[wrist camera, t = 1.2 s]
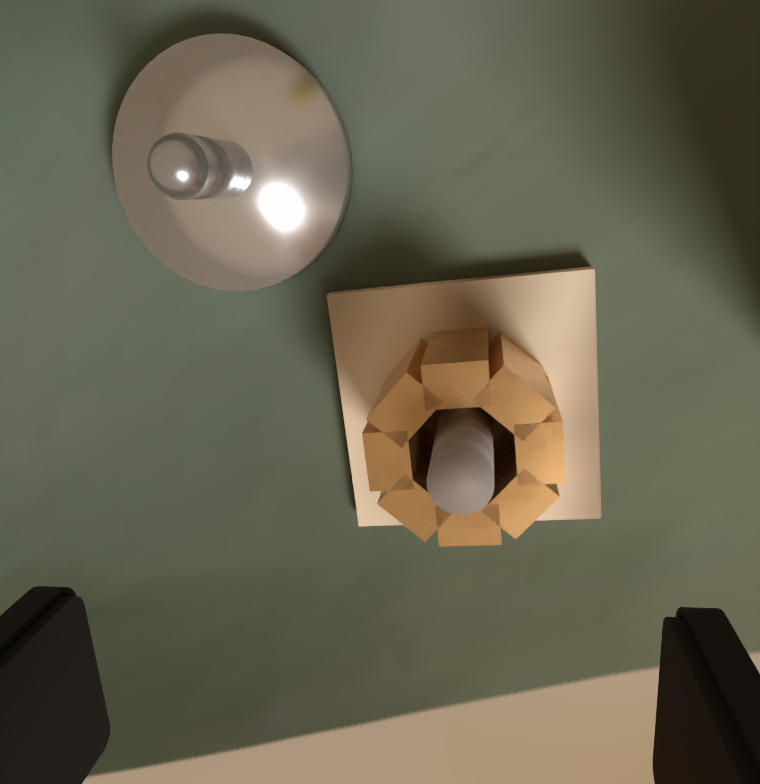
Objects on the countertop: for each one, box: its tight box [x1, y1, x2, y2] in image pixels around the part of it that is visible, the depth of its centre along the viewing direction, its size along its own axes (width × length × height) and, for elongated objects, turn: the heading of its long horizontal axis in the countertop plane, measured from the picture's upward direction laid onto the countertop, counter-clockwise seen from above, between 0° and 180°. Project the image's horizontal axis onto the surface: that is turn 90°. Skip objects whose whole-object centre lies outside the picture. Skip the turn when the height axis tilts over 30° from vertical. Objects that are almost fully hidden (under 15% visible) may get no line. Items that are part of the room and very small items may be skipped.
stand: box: [327, 266, 601, 526], centre depth 23 cm, size 10×10×8 cm
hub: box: [112, 33, 353, 291], centre depth 23 cm, size 9×9×6 cm
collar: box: [362, 327, 565, 546], centre depth 24 cm, size 6×6×5 cm
